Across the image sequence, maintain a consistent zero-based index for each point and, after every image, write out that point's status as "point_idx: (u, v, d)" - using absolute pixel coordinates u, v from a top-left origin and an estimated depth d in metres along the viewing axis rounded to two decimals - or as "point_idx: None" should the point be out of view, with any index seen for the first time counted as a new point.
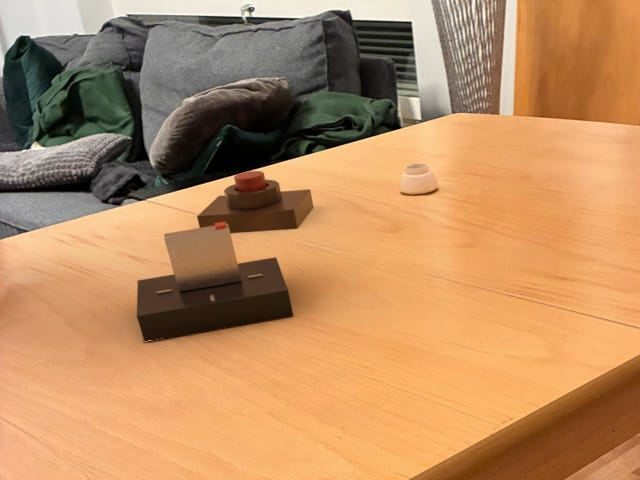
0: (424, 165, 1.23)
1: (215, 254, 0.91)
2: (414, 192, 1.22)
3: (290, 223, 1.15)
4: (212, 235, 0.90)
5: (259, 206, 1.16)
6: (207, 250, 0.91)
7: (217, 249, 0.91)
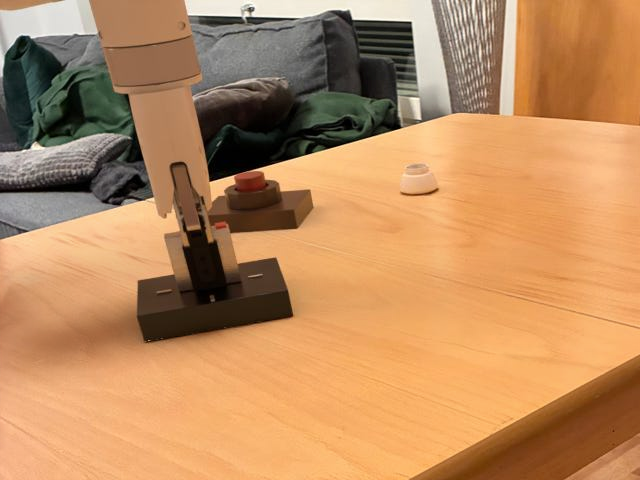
0: (424, 165, 1.23)
1: None
2: (414, 192, 1.22)
3: (290, 223, 1.15)
4: (212, 235, 0.90)
5: (259, 206, 1.16)
6: None
7: None
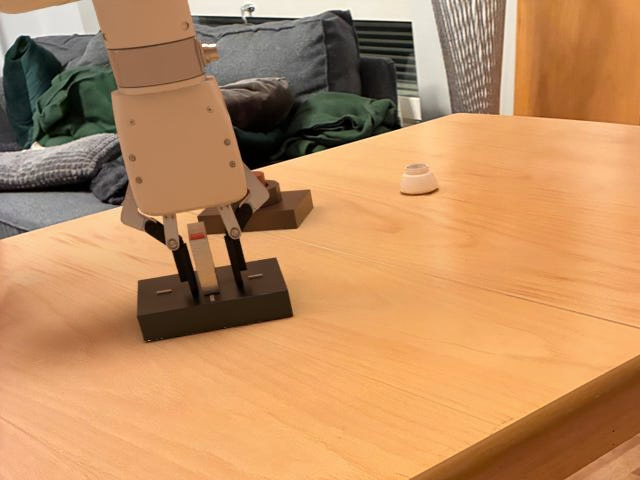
0: (424, 165, 1.23)
1: None
2: (414, 192, 1.22)
3: (290, 223, 1.15)
4: None
5: None
6: None
7: None
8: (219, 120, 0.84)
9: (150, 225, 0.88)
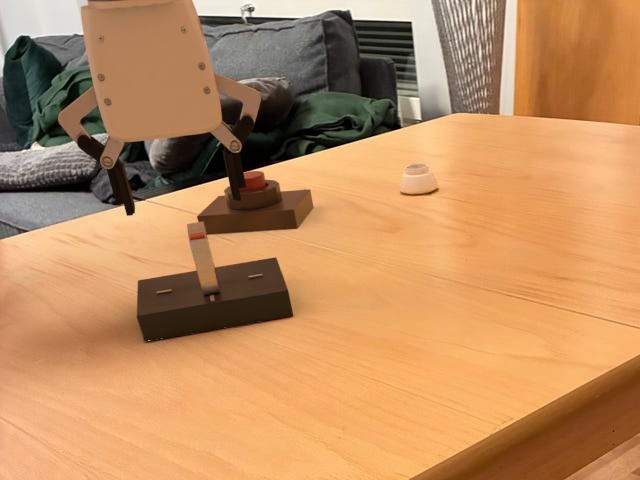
0: (424, 165, 1.23)
1: None
2: (414, 192, 1.22)
3: (290, 223, 1.15)
4: None
5: (259, 206, 1.16)
6: None
7: None
8: (194, 42, 0.80)
9: (83, 140, 0.83)
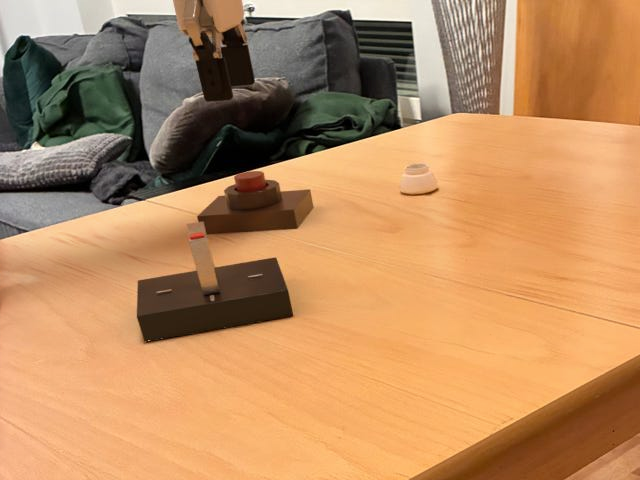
0: (424, 165, 1.23)
1: None
2: (414, 192, 1.22)
3: (290, 223, 1.15)
4: None
5: (259, 206, 1.16)
6: None
7: None
8: None
9: (206, 35, 1.02)
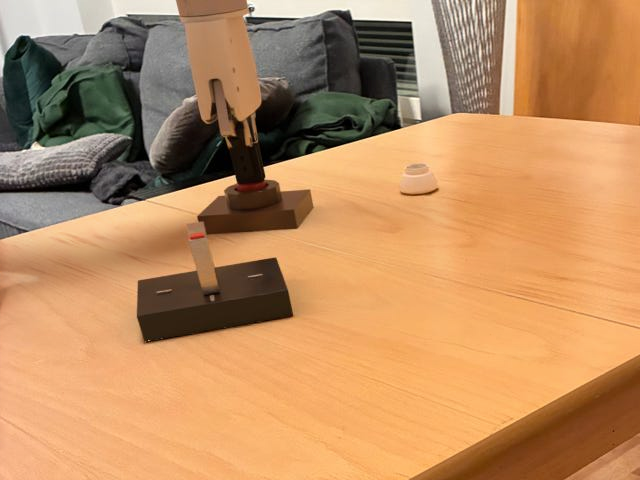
0: (424, 165, 1.23)
1: None
2: (414, 192, 1.22)
3: (290, 223, 1.15)
4: None
5: (259, 206, 1.16)
6: None
7: None
8: (249, 40, 1.11)
9: (239, 127, 1.11)
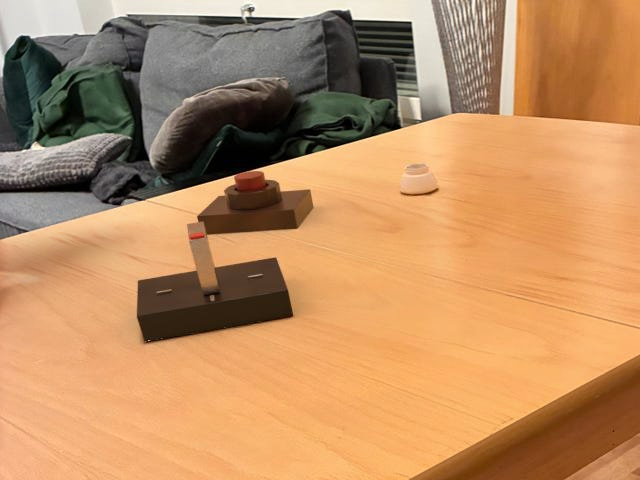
0: (424, 165, 1.23)
1: None
2: (414, 192, 1.22)
3: (290, 223, 1.15)
4: None
5: (259, 206, 1.16)
6: None
7: None
8: None
9: None
